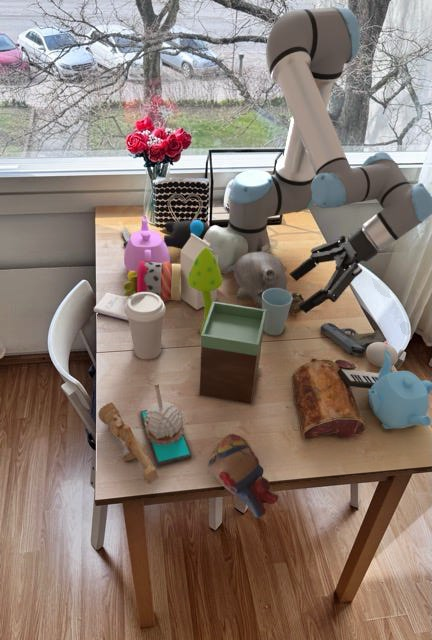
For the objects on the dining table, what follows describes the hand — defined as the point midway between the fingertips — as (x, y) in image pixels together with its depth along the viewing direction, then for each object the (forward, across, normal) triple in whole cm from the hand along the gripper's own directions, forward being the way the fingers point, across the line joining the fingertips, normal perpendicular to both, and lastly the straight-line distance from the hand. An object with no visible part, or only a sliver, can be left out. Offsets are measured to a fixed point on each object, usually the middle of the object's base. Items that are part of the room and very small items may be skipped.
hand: (297, 293), depth 136 cm
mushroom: (+25, -1, +8) cm, 26 cm away
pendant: (+5, +8, -11) cm, 14 cm away
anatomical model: (+20, -43, +12) cm, 49 cm away
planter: (+12, +26, +3) cm, 28 cm away
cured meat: (+5, -25, -12) cm, 28 cm away
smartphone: (+32, -35, +15) cm, 50 cm away
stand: (+21, -19, +4) cm, 29 cm away
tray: (+10, -19, +15) cm, 27 cm away
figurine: (+31, -49, +19) cm, 61 cm away
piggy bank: (+14, +16, -3) cm, 21 cm away
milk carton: (+25, +14, +8) cm, 30 cm away
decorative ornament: (+31, -35, +15) cm, 49 cm away
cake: (+25, +15, +16) cm, 33 cm away
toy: (+28, +39, +19) cm, 52 cm away
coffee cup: (+35, -8, +18) cm, 40 cm away
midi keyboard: (-4, -21, -15) cm, 26 cm away
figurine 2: (-11, -13, -18) cm, 25 cm away
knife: (+41, +42, +25) cm, 64 cm away
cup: (+12, 0, -5) cm, 13 cm away
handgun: (-8, 0, -23) cm, 24 cm away
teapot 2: (-4, -31, -21) cm, 37 cm away
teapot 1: (+35, +30, +19) cm, 50 cm away
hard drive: (+35, +7, +20) cm, 41 cm away
